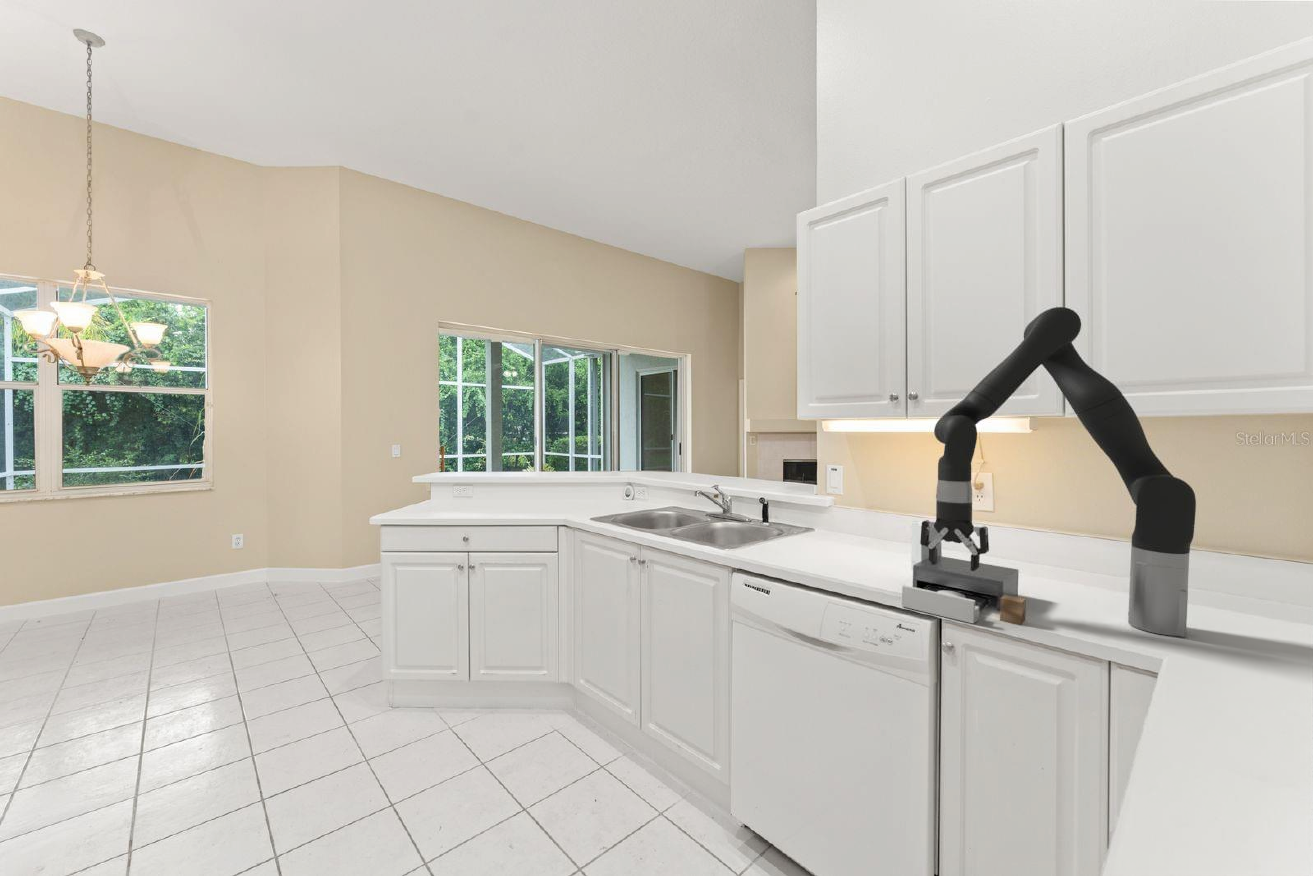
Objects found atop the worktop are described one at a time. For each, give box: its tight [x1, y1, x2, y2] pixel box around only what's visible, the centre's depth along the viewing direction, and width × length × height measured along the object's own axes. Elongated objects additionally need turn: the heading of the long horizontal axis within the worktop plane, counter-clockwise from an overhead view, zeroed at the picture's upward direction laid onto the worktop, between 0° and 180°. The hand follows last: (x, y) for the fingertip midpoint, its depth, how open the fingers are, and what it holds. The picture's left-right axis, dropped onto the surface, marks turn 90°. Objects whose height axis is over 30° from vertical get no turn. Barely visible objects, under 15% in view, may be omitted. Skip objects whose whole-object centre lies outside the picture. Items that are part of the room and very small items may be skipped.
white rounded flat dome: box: [938, 590, 965, 598], centre depth 131 cm, size 6×6×2 cm
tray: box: [901, 584, 990, 624], centre depth 130 cm, size 15×18×5 cm
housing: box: [912, 555, 1020, 612], centre depth 139 cm, size 20×16×7 cm
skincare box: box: [910, 520, 943, 571], centre depth 159 cm, size 8×6×15 cm
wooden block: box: [999, 594, 1027, 626], centre depth 121 cm, size 4×4×5 cm
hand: (953, 567), depth 130 cm, fingers open, 8 cm apart
